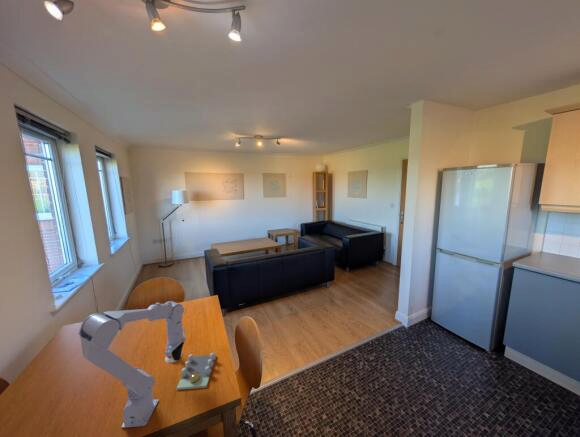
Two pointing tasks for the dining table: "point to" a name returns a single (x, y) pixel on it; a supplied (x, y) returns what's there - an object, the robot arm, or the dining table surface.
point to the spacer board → (197, 364)
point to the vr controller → (170, 359)
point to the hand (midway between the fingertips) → (177, 359)
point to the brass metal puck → (194, 377)
